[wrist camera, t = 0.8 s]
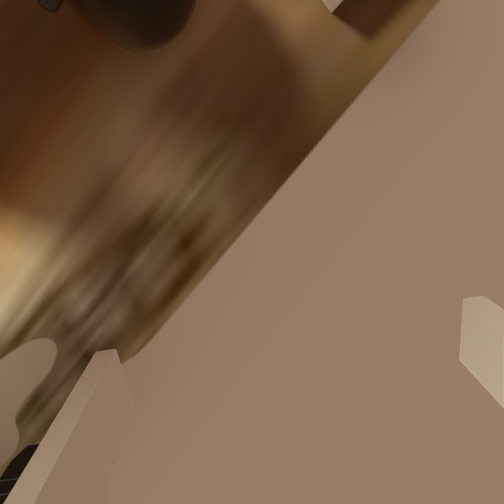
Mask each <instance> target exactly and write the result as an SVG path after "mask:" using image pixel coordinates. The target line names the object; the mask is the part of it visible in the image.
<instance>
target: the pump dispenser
mask: <svg viewBox="0 0 504 504" xmlns="http://www.w3.org/2000/svg"><path fill="white" fill-rule="evenodd" d="M196 1H197V0H38V3H39V4H40V6H41V7H42V8H43V9H45V10H46V11H48V12H50V13H57V12H58V11H59V10H60V8H61V6H62V5H63V3H65V5H66V6H67V7H68V8H69V10H70V11H71V12H72V13H73V14H74V15H75V16H76V18H77V19H78V20H79V21H80V22H81V23H82V24H83V25H84V26H85V27H86V28H87V29H88V30H90V31H91V32H92V33H93V34H95V35H96V36H97V37H99V38H100V39H102V40H103V41H105V42H107V43H109V44H111V45H113V46H115V47H118V48H121V49H124V50H129V51H148V50H153V49H156V48H159V47H162V46H164V45H165V44H167V43H169V42H170V41H172V40H173V39H174V38H175V37H177V36H178V35H179V34H180V32H181V31H182V30H183V29H184V28H185V26H186V25H187V23H188V21H189V20H190V18H191V15H192V13H193V11H194V8H195V5H196Z"/></svg>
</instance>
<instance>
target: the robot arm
mask: <svg viewBox="0 0 504 504" xmlns="http://www.w3.org/2000/svg"><path fill="white" fill-rule="evenodd" d="M459 360H460V361H461V362H462V363H463V364H464V365H465V367H466V368H467V369H468V370H469V371H470V372H471V373H472V374H473V375H474V376H475V377H476V379H477V380H478V381H479V382H480V383H481V384H482V385H483V386H484V387H485V388H486V389H487V390H488V392H489V393H490V394H491V395H492V396H493V397H494V398H495V399H496V400H497V401H498V402H499V403H500V404H501V406H502V407H503V408H504V310H503V309H502V308H500V307H499V306H498V305H496V304H495V303H493V302H492V301H491V300H489V299H488V298H487V297H485V296H477V297H470V298H464V299H463V309H462V325H461V341H460V357H459ZM133 409H134V403H133V400H132V397H131V394H130V391H129V388H128V385H127V382H126V379H125V376H124V372H123V370H122V366H121V363H120V360H119V357H118V354H117V351H116V349H112V350H105V351H98V352H96V353H95V354H94V356H93V357H92V359H91V361H90V362H89V364H88V366H87V367H86V369H85V371H84V372H83V374H82V376H81V377H80V379H79V380H78V382H77V384H76V385H75V387H74V389H73V390H72V392H71V394H70V395H69V397H68V399H67V400H66V402H65V403H64V405H63V407H62V408H61V410H60V412H59V413H58V415H57V417H56V418H55V420H54V422H53V423H52V425H51V426H50V428H49V430H48V431H47V433H46V435H45V436H44V438H43V440H42V441H41V443H40V444H36V445H29V446H27V447H26V448H25V449H24V450H23V451H22V452H21V453H20V454H19V455H17V456H16V457H15V458H14V459H13V460H12V461H11V462H10V464H9V465H8V467H7V468H6V470H5V471H4V473H3V474H2V476H1V477H0V504H99V503H100V500H101V498H102V495H103V492H104V489H105V487H106V484H107V481H108V478H109V476H110V473H111V470H112V467H113V464H114V462H115V459H116V456H117V453H118V451H119V448H120V445H121V442H122V439H123V437H124V434H125V431H126V428H127V425H128V423H129V419H130V417H131V414H132V412H133Z"/></svg>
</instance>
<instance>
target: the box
mask: <svg viewBox="0 0 504 504" xmlns="http://www.w3.org/2000/svg"><path fill="white" fill-rule="evenodd" d="M322 1H323V3H324V4H325V5H326V7H327V8H328V9H329V11H330V12H331V13H332V12H333V11H334V10H335V9H336V8H337V7H338V6H339V5H340V3H341V2H342V1H343V0H322Z"/></svg>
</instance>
